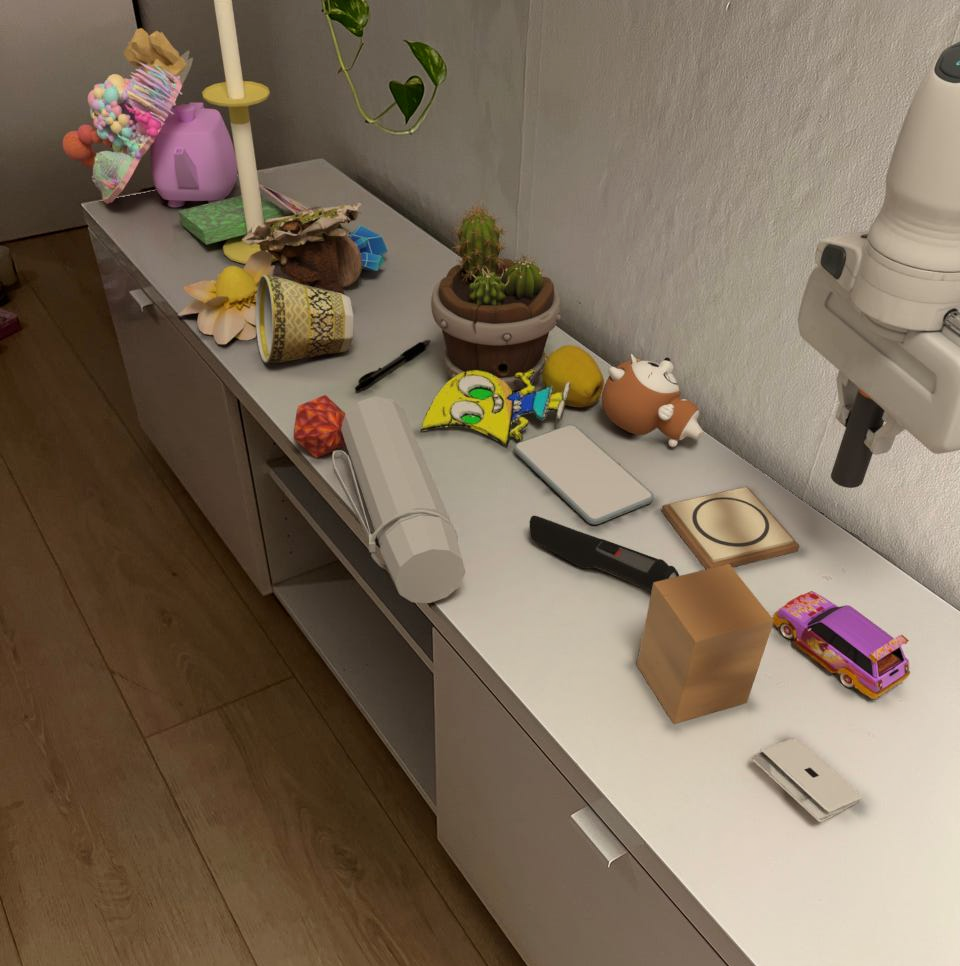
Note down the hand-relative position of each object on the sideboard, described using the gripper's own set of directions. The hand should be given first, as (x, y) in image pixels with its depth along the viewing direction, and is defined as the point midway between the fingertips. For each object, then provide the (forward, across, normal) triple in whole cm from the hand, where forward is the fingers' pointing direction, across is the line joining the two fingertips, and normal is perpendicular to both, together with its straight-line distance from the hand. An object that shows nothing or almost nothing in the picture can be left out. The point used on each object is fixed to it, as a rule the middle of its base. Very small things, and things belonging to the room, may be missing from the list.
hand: (861, 435), depth 85 cm
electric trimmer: (+16, +7, +20) cm, 26 cm away
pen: (+14, +48, +28) cm, 57 cm away
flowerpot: (+15, +42, +18) cm, 48 cm away
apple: (+13, +31, +8) cm, 35 cm away
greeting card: (+15, +93, +33) cm, 100 cm away
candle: (+15, +84, +38) cm, 93 cm away
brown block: (+15, -9, +19) cm, 26 cm away
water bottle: (+11, +32, +36) cm, 49 cm away
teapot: (+15, +104, +43) cm, 114 cm away
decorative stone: (+11, +31, +39) cm, 51 cm away
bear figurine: (+5, +69, +34) cm, 77 cm away
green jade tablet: (+12, +91, +40) cm, 100 cm away
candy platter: (+6, +106, +47) cm, 117 cm away
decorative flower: (+10, +63, +41) cm, 76 cm away
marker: (+5, 0, 0) cm, 5 cm away
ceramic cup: (+13, +55, +32) cm, 65 cm away
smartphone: (+15, +20, +16) cm, 30 cm away
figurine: (+13, +21, +1) cm, 24 cm away
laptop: (+16, -22, +16) cm, 31 cm away
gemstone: (+11, +69, +30) cm, 76 cm away
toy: (+13, +28, +14) cm, 34 cm away
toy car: (+16, -10, +5) cm, 19 cm away
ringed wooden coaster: (+15, +8, +5) cm, 18 cm away
